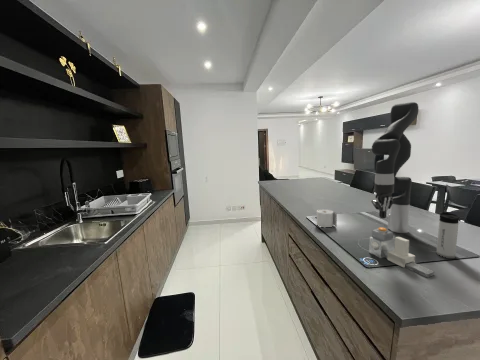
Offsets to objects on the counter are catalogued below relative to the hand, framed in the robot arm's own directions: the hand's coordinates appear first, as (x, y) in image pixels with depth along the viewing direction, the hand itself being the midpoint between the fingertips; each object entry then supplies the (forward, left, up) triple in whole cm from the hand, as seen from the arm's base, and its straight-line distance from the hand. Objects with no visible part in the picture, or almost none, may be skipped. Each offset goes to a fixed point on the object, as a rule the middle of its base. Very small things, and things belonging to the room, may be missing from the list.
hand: (382, 217), depth 99 cm
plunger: (0, 0, -10) cm, 10 cm away
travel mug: (+13, +24, -19) cm, 33 cm away
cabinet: (0, 0, -18) cm, 18 cm away
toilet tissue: (-41, +2, -19) cm, 45 cm away
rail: (+12, 0, -18) cm, 22 cm away
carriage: (+9, 0, -18) cm, 20 cm away
